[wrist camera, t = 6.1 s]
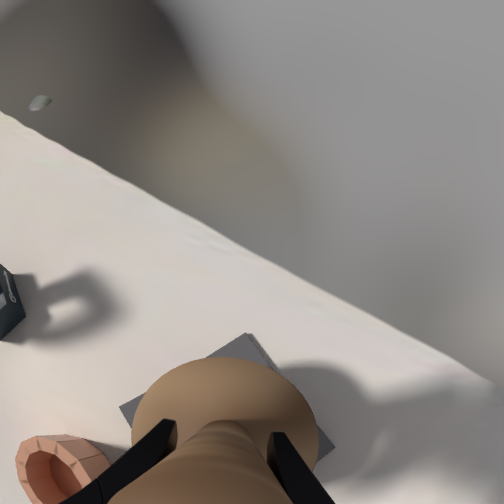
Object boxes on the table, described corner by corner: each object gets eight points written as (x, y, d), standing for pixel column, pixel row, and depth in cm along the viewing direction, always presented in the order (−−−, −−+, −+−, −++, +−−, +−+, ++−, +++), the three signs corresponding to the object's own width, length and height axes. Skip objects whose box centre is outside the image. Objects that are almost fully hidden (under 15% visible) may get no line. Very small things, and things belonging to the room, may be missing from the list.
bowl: (136, 501, 13) (118, 517, 9) (75, 519, 10) (51, 532, 7) (86, 423, 15) (59, 424, 12) (32, 448, 13) (3, 449, 10)
